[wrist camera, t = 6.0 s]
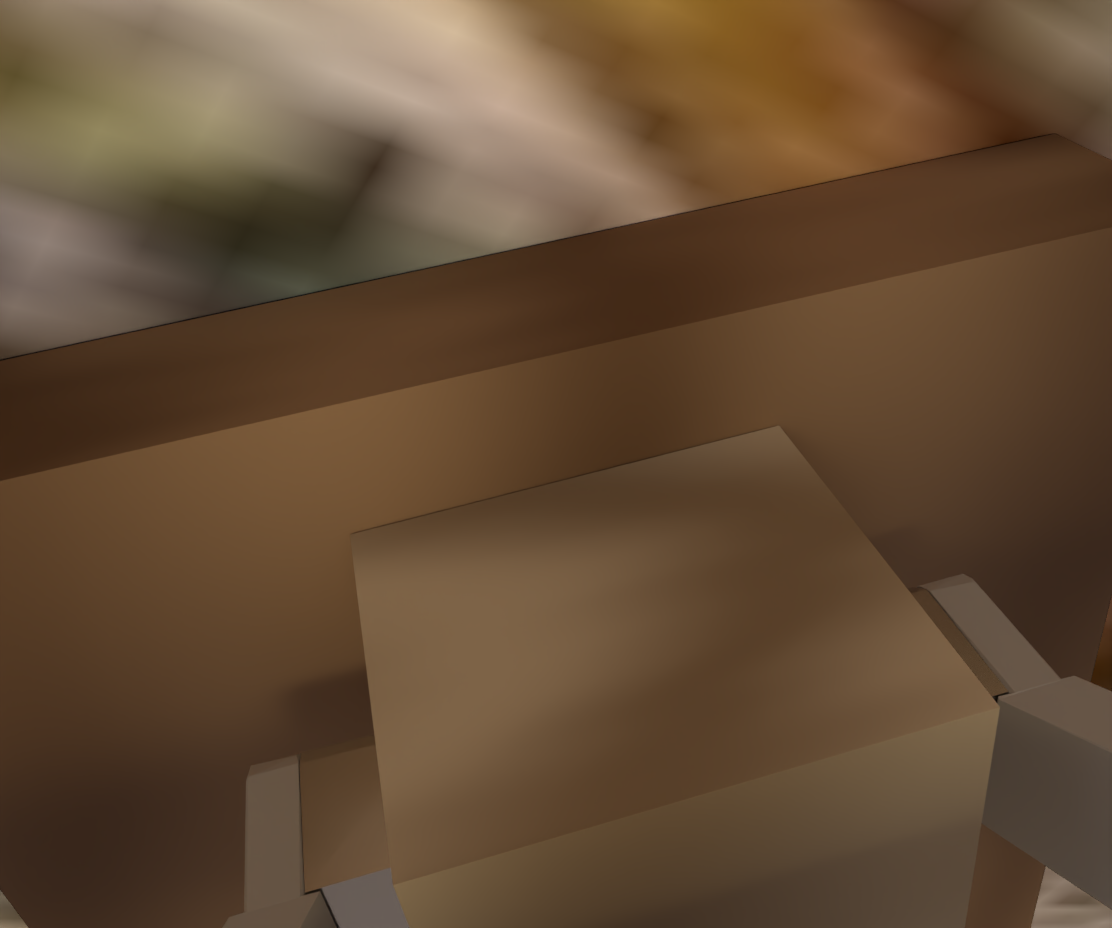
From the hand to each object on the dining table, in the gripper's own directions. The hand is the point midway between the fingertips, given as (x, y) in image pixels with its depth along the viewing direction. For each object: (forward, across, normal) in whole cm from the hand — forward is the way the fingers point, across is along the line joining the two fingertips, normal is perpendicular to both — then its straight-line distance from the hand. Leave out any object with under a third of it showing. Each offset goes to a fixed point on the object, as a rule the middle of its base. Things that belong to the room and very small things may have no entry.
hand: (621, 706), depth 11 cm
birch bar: (+1, 0, +5) cm, 5 cm away
